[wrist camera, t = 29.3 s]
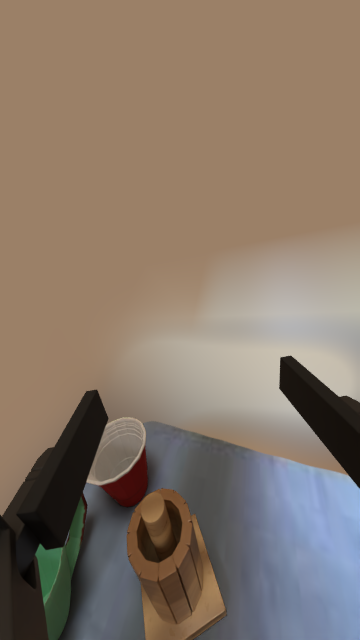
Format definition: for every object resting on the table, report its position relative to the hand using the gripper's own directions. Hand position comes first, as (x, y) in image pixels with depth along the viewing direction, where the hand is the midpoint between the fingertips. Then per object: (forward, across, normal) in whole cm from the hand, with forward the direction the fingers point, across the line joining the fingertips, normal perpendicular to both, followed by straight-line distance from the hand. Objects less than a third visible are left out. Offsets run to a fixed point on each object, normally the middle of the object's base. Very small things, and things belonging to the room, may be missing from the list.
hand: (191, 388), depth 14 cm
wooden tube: (+1, -6, -29) cm, 30 cm away
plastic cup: (+12, -14, -31) cm, 36 cm away
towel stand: (0, -6, -30) cm, 31 cm away
